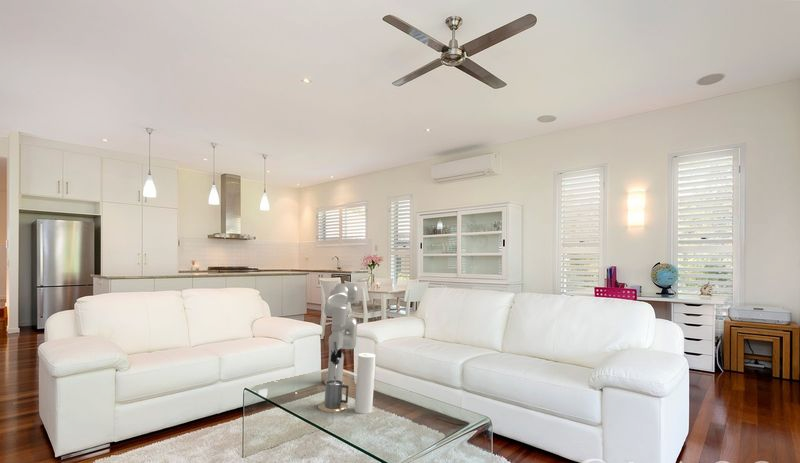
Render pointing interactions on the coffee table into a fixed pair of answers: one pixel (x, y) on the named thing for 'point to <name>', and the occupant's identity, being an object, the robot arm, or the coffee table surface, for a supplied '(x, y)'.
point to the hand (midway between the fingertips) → (336, 359)
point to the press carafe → (334, 398)
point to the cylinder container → (365, 383)
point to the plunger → (335, 373)
